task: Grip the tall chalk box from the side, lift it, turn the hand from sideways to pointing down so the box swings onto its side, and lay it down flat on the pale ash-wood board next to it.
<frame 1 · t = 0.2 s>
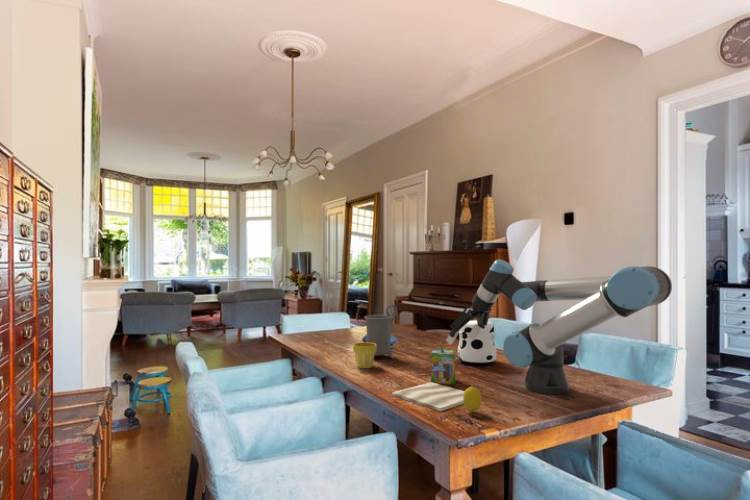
hand: (460, 340, 180), 15 cm above the table, tool tilted 35°, fingers open, 13 cm apart
ash board: (435, 396, 157), on the table
mug: (380, 357, 221), on the table
plant pot: (364, 366, 201), on the table
lemon: (472, 412, 141), on the table
milk container: (476, 362, 208), on the table
chalk box: (443, 382, 176), on the table
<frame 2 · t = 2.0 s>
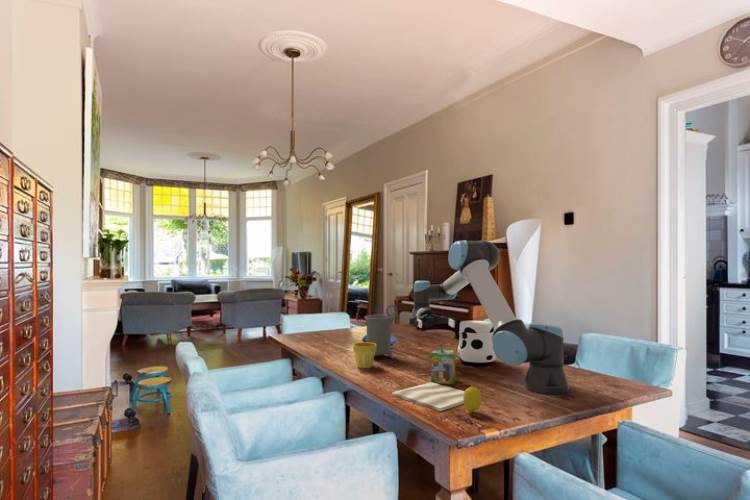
hand: (437, 324, 186), 21 cm above the table, tool horizontal, fingers open, 13 cm apart
nothing on the table moved.
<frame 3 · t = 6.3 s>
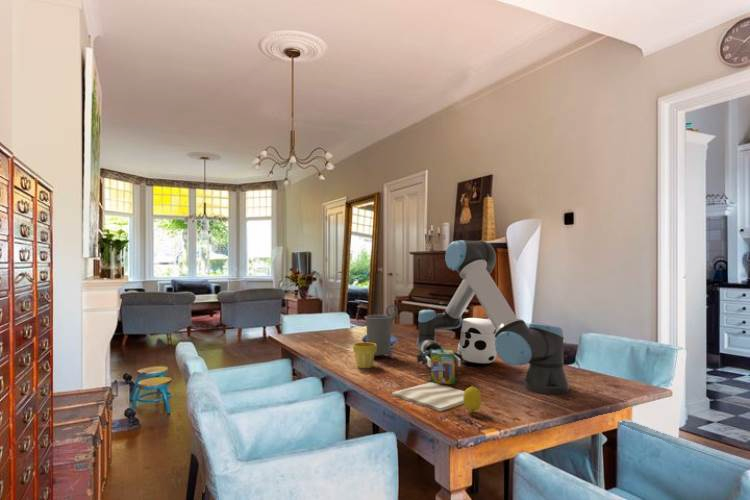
hand: (444, 363, 173), 8 cm above the table, tool horizontal, fingers closed on chalk box, 11 cm apart
milk container: (476, 361, 207), point 1 cm above the table, touching arm
chalk box: (442, 382, 176), on the table, touching gripper
everything else where it was.
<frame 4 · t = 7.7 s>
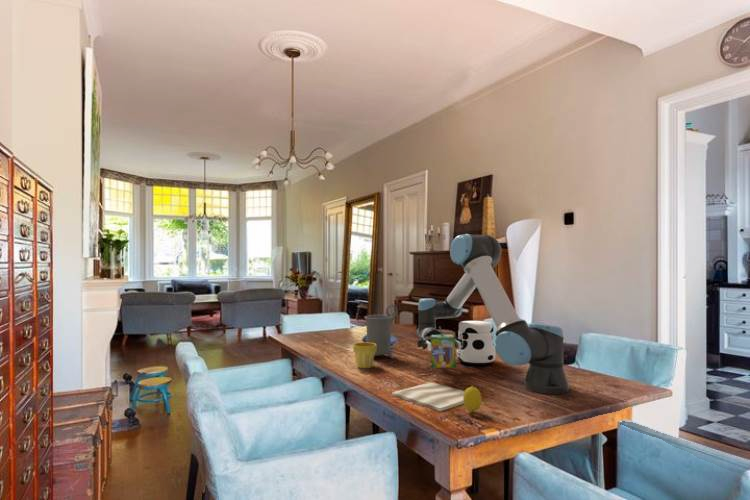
hand: (445, 346, 173), 14 cm above the table, tool horizontal, fingers closed on chalk box, 11 cm apart
milk container: (476, 363, 207), on the table
chalk box: (443, 366, 176), point 6 cm above the table, touching gripper
everything else where it was.
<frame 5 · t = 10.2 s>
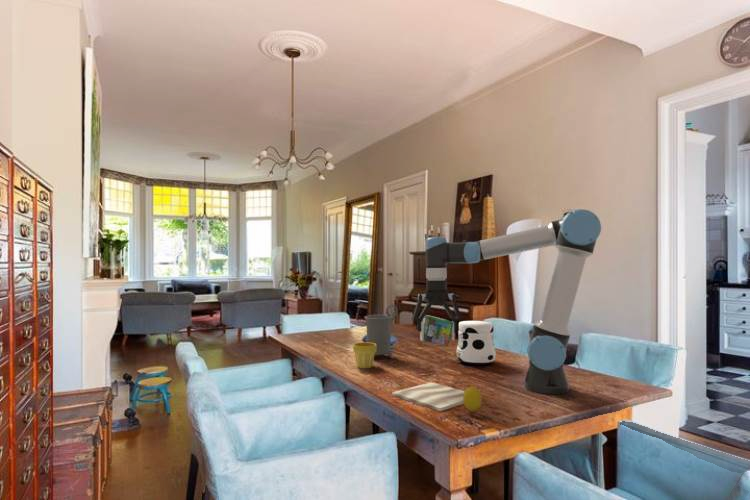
hand: (437, 340, 167), 18 cm above the table, tool pointing down, fingers closed on chalk box, 11 cm apart
chalk box: (432, 327, 175), point 21 cm above the table, touching gripper
everything else where it was.
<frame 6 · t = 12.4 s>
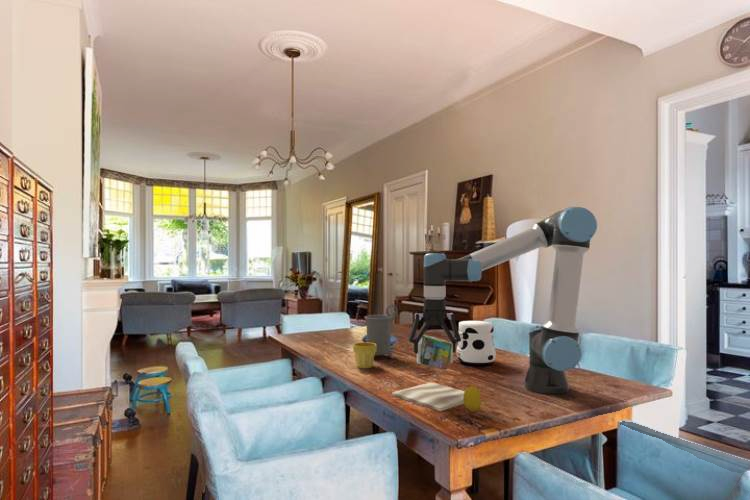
hand: (434, 362, 157), 12 cm above the table, tool pointing down, fingers closed on chalk box, 10 cm apart
chalk box: (429, 348, 165), point 15 cm above the table, touching gripper
everything else where it was.
when the fingers open (3 cm above the table, at t = 14.4 s): chalk box moves 2 cm, resting on ash board.
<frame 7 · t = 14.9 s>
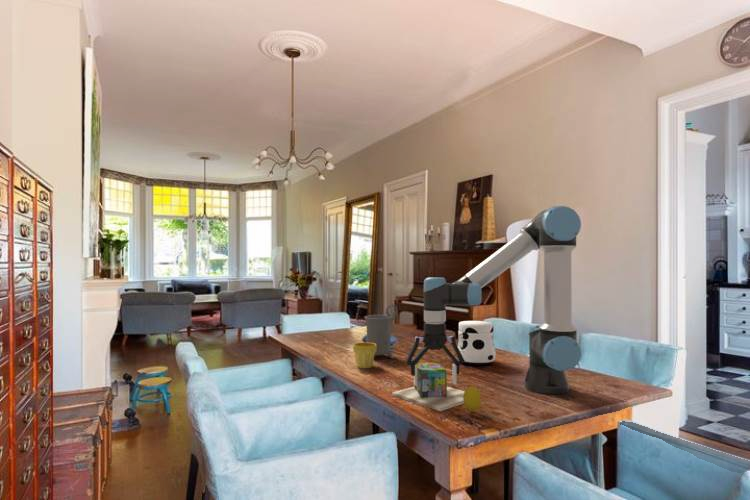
hand: (435, 384, 157), 4 cm above the table, tool pointing down, fingers open, 13 cm apart
chalk box: (425, 374, 165), point 6 cm above the table, touching ash board
everything else where it was.
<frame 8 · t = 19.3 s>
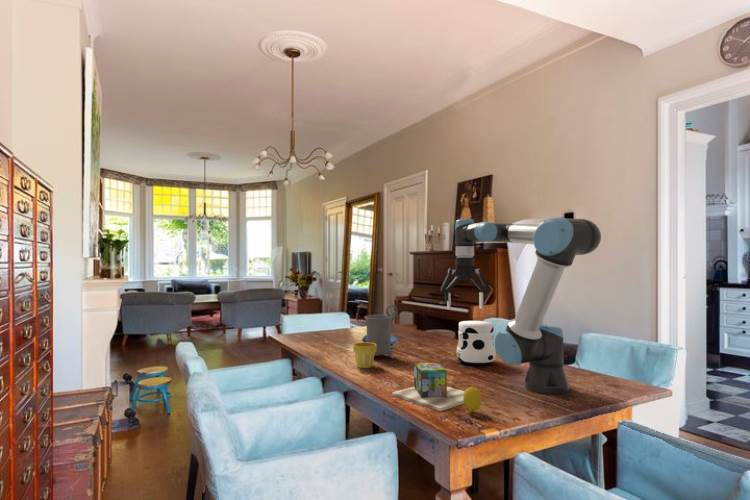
hand: (465, 308, 187), 27 cm above the table, tool pointing down, fingers open, 13 cm apart
nothing on the table moved.
at the end: chalk box tilted 91°; chalk box inside the target area on the ash board (8.0 cm from its centre), point 5.6 cm above the ash board's base; the gripper is holding nothing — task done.
